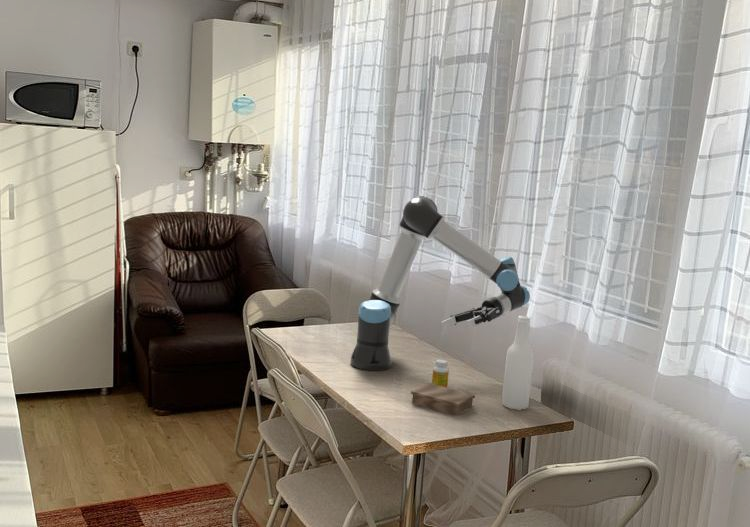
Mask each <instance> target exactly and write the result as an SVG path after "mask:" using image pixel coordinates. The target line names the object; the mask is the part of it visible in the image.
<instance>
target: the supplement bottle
mask: <svg viewBox="0 0 750 527" xmlns="http://www.w3.org/2000/svg"><path fill="white" fill-rule="evenodd" d="M449 372H450V369H449V368H448V360H445V359H436V360H435V365H434V366H433V369H432V378H431V384H434V385H438V386H442V387H446V388H448V384H449V374H450V373H449Z"/></svg>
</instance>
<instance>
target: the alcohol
mask: <svg viewBox="0 0 750 527" xmlns="http://www.w3.org/2000/svg"><path fill="white" fill-rule="evenodd" d="M531 319H532V317H530V316H528V315H518V319H517V326H516V332H515V337H514V341H513V343H512V344H511V345H510V346H509V347H508V348H507V351H506V358H505V359H506V360H505V366H504V375H503V385H502V395H501V404H502V406H503V405H504V406H505V407H504V406H503V407H504V408H506V407H508V408H507V409H509V408H512V409H511V410H513V409H524V410H526V409H528V407H529V405H530V397H531V390H532V389H531V388H532V378H533V371H534V370H533V369H534V363H535V362H534V360H535V354H534V350H533V349H532V347H531V344H530V330H531V329H530V328H531V327H530V326H531ZM525 408H526V409H525Z"/></svg>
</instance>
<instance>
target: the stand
mask: <svg viewBox="0 0 750 527" xmlns="http://www.w3.org/2000/svg"><path fill="white" fill-rule="evenodd" d="M410 394H411V395H412V397H411V398H412V401H411V404H414V405H416V406H417V405H418V406H420V407H421V406H422V407H424V408H428V409H432V410H434V411H435V410H436V411H439V412H442V413H446V414H450V415H453V416H459V415H460V414H462V413H464V412H465V411H467V409H468V410H469V409H471V408H473V399H475V398H476V394H474V393H473V394H472V393H468V392H465V391H461V390H457V389H453V388H449V387H447V388H446V387H442V386H438V385H434V384H432V383H429V382H428V383H426V384H424V385H422V386H419V387H417V388H415V389H413V390H411V391H410Z"/></svg>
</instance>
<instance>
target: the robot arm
mask: <svg viewBox="0 0 750 527" xmlns="http://www.w3.org/2000/svg"><path fill="white" fill-rule="evenodd" d="M399 229H400V233H399V236H398V238H397V241H396V243H395V246H394V248H393V251H392V253H391V256H390V258H389V260H388V263H387V265H386V268H385V270H384V272H383V275H382V277H381V280H380V283H379V285H378V287H377V288H375V289H373V290H372V292H371V295H370V296H369V299H368V300H365V301H363V302H361V303H360V305H359V309H358V322H357V334H356V335H357V336H356V337H357V338H356V345H355V346H354V349H353V351H352V353H351V357H350V365H351V366H352V367H354V368H356V369H359V370H360V369H361V370H365V371H385V370H388V369H390V368H392V358H391V357H392V356H391V354H390V353H391V352H390V348H389V338H390V327H391V325H392V323H394V321H395V319H396V316H397V312H398V311H399V310H398V309H399V307H400V306H401V303H402V301H401V299H400V294H401V292H402V289H403V287H404V285H405V282H406V280H407V277H408V274H409V273H410V270H411V268H412V265H413V263H414V260H415V258H416V256H417V254H418V251H419V248H420V246H421V244H422V241H423V240H424V239H427V240H428V239H432V240H434V241H435V242H437V243H438V244H440V245H441V246H442V247H444V248H445V249H447V250H448V251H449V252H451V253H452V254H454V255H456V256H457V257H458V258H459V259H461V260H463V261H464V262H465V263H467V264H468V265H470V266H471V267H472V268H474V269H475V270H477V271H478V272H479V273H481V274H482V275H483V276H484V277H487V278H488V279H489V280H490V281H492V282H493V283H495V284H496V285H497V286H498V288H499V289H500V292H501V293H498V294H496V295H494V296H492V297H490V298H487V299H484V301H482V303H481V306H480V307H476V308H473V307H472V308H471V309H469V310H465V311H461V312H459V313H456V314H451V315H450V317H449V318H447V319H445V320H442V321H441V322H439V323H440V327H441V329H442V330H445V329H448V328H450V327H453V326H456V325H457V324H458V323H460V322H464V321H465V325H466V328H467V330H470V329H472V328H474V327H477V326H478V325H481V324H482V323H486V322H488V323H489V322H491V321H492V320H495V319H497V318H499V317H501V316H503V317H504V316H506V314H508V313H510V312H512V311H514V310H516V309H517V310H518V309H519V308H522V307H523V306H525V305H526V304H528V303H529V302H530V300H531V299H530V298H531V295H530V291H529V290H528V288H527V287H526V286H524V285H522V284H521V283H520V279H519V275H518V270H517V267H516V264H515V261H514V258H513V257H512V256H507V257H502V258H497V257H496V256H494V255H493V254H491V253H490V252H488V251H487V250H486V249H485V248H483V247H482V246H480V245H479V244H478V243H476V242H475V241H473V240H472V239H470V238H469V237H468V236H466V235H464V233H462V232H460V231H459V230H457V229H456V228H455V227H454V226H452V225H450V224H449V223H448V222H446V220H445V217H444V216H443V215H441V214H440V213H439V211H438V207H437V205H436V203H435V202H434V200H432V199H431V198H429V197H427V196H423V195H420V196H419V195H418V196H416V197H413V198H412V199H411V200H409V201H408V202H407V203H406V204H405V206H404V208H403V211H402V217H401V220H400V223H399Z"/></svg>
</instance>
